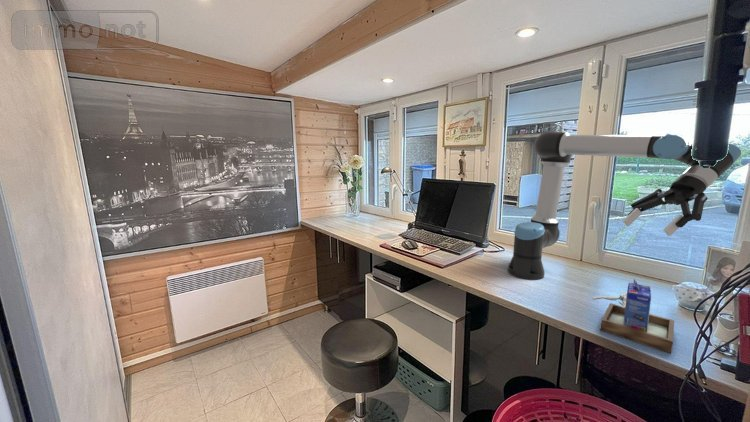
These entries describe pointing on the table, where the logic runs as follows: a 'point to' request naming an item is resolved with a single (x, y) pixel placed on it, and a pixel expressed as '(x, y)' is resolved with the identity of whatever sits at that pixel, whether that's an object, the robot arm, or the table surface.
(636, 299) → the ink cartridge box
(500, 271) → the table surface
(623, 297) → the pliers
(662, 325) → the wooden tray
